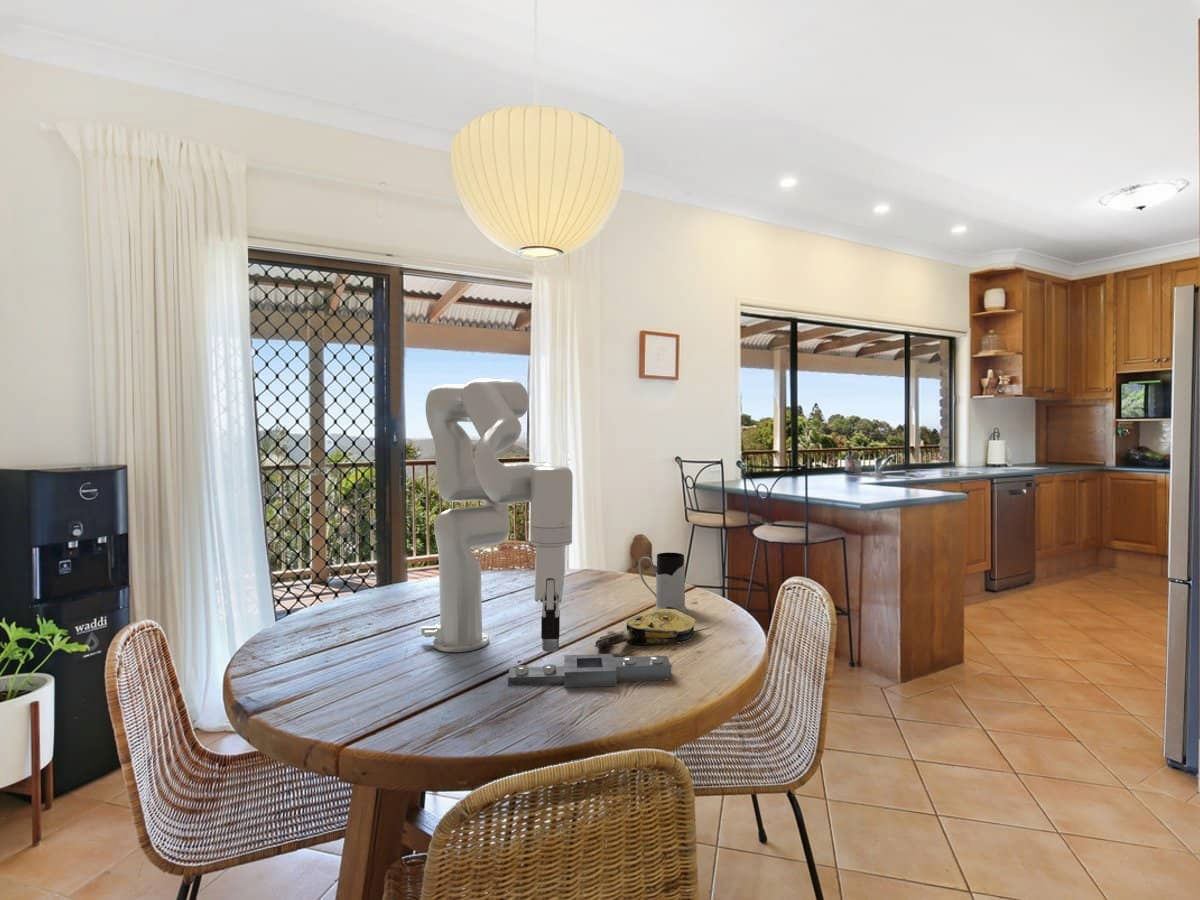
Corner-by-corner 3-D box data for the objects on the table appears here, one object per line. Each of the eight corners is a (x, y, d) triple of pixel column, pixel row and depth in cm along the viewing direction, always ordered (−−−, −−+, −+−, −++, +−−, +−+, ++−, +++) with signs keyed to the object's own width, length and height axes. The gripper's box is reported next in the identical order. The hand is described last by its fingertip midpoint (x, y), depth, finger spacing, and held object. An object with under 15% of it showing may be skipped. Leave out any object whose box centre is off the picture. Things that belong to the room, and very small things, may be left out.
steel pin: (539, 653, 109) (539, 596, 109) (540, 644, 113) (540, 590, 113) (561, 652, 110) (562, 596, 109) (561, 644, 114) (562, 590, 113)
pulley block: (579, 617, 141) (675, 596, 159) (577, 641, 142) (672, 617, 160) (616, 643, 130) (715, 617, 148) (614, 669, 131) (712, 640, 149)
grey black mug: (678, 615, 163) (678, 559, 163) (631, 607, 171) (631, 554, 170) (691, 607, 171) (691, 553, 170) (646, 600, 178) (645, 549, 178)
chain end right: (564, 687, 118) (564, 669, 118) (564, 669, 127) (564, 652, 127) (672, 684, 119) (672, 665, 119) (665, 666, 128) (665, 649, 128)
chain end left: (506, 689, 117) (506, 677, 117) (511, 671, 126) (510, 659, 126) (616, 686, 118) (616, 673, 118) (612, 668, 127) (612, 656, 127)
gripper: (532, 526, 118) (532, 620, 119) (527, 544, 102) (527, 652, 103) (571, 526, 119) (570, 619, 120) (572, 544, 102) (571, 652, 103)
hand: (550, 633), depth 111 cm, fingers closed on steel pin, 3 cm apart
